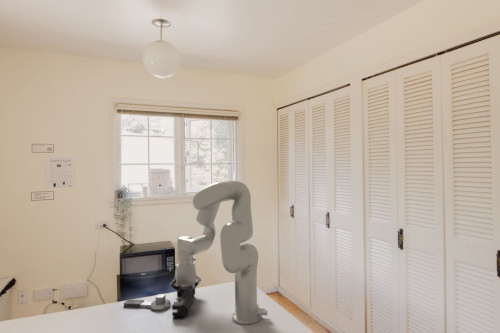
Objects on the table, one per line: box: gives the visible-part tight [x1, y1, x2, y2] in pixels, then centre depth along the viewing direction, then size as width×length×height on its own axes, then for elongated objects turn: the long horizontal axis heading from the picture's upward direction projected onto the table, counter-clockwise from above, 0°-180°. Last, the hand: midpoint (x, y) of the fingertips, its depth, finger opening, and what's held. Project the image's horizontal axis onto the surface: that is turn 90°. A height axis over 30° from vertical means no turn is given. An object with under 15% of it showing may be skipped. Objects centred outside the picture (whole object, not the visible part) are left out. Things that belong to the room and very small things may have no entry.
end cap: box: [171, 295, 195, 320], centre depth 133 cm, size 10×7×7 cm
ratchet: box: [123, 293, 172, 312], centre depth 142 cm, size 22×9×5 cm, turn 82°
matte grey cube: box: [180, 284, 194, 299], centre depth 150 cm, size 6×6×6 cm
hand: (186, 296), depth 150 cm, fingers closed on matte grey cube, 6 cm apart
